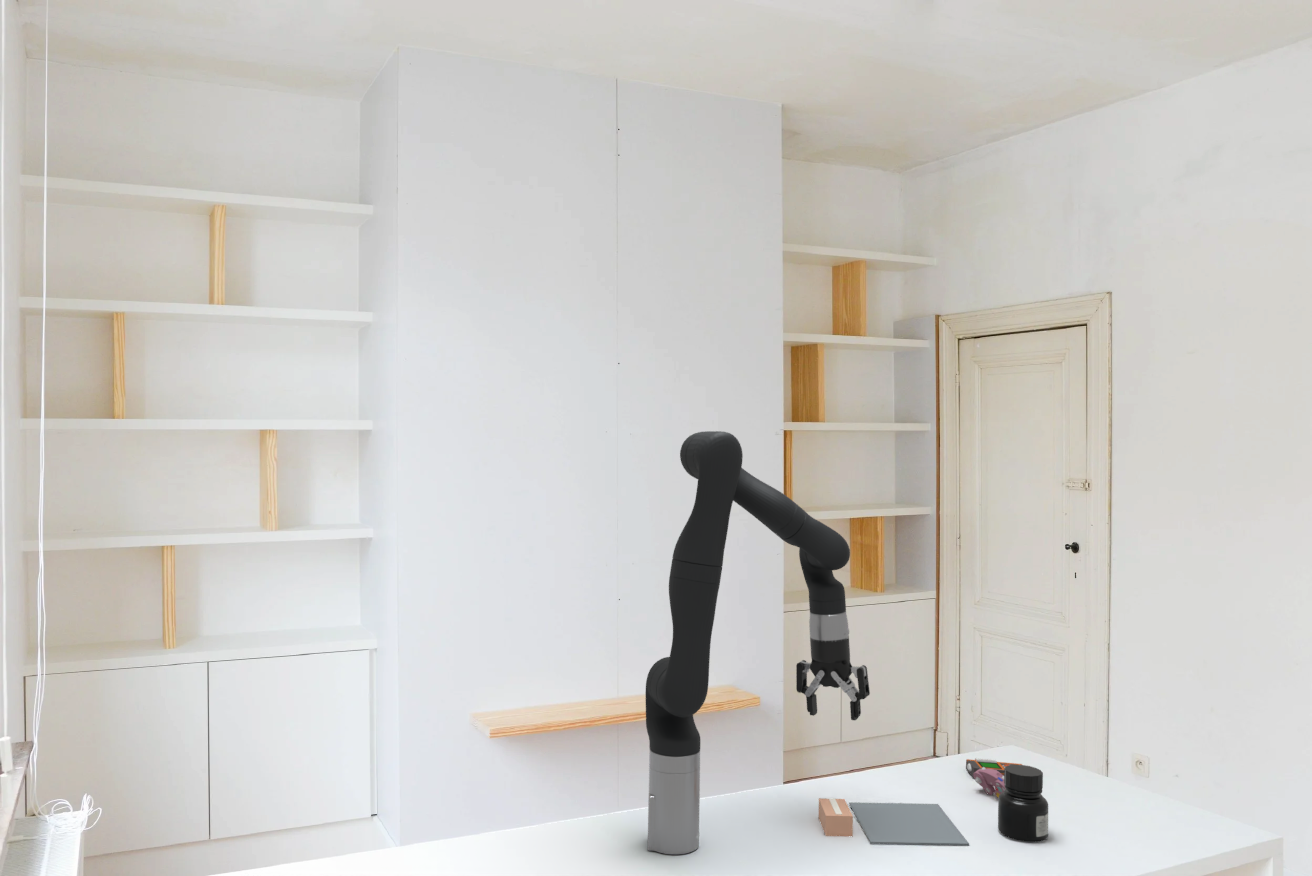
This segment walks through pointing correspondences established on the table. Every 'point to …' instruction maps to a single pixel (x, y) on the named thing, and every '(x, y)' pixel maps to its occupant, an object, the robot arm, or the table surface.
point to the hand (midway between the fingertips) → (834, 716)
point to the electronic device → (986, 765)
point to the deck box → (835, 817)
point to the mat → (907, 824)
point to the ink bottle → (1023, 805)
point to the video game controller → (990, 780)
